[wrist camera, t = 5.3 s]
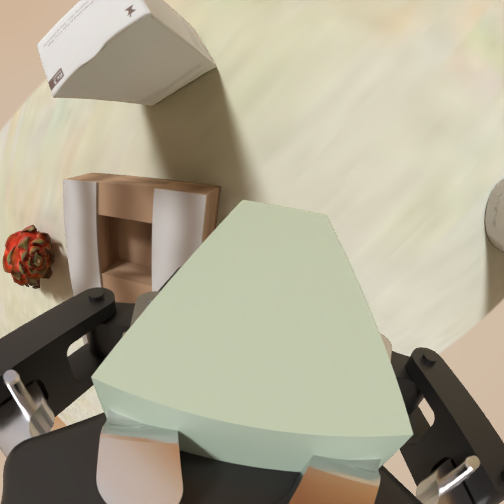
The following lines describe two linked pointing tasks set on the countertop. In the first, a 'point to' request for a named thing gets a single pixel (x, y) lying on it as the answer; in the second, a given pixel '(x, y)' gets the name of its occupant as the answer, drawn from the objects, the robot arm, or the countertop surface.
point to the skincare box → (122, 52)
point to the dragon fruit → (28, 257)
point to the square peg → (261, 350)
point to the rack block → (133, 230)
